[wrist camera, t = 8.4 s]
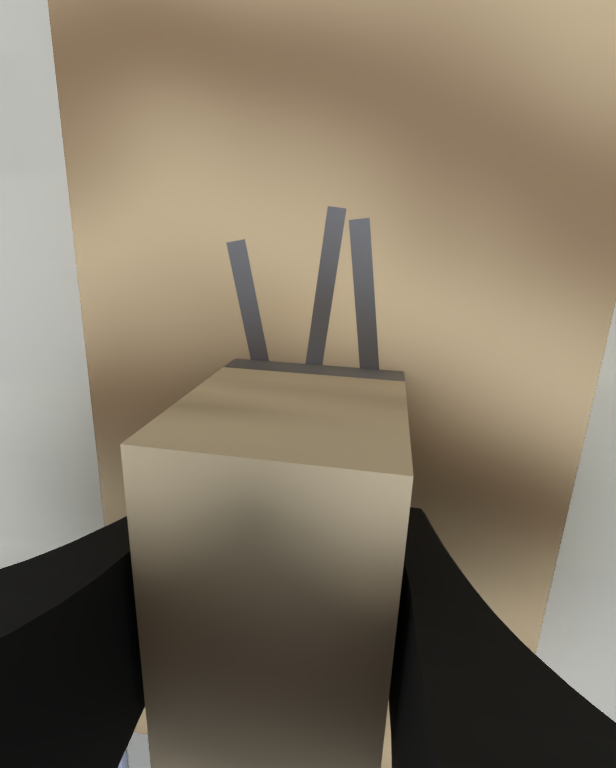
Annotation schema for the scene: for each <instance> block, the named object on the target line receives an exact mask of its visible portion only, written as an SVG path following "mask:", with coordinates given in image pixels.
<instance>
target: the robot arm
mask: <svg viewBox="0 0 616 768" xmlns="http://www.w3.org/2000/svg"><path fill="white" fill-rule="evenodd" d="M144 708H145V699H144V689H143V678H142V668H141V657H140V647H139V636H138V626H137V615H136V605H135V594H134V584H133V573H132V563H131V552H130V542H129V531H128V521H127V516H126V517H124V518H122V519H120V520H118V521H116V522H113V523H111V524H109V525H107V526H105V527H103V528H101V529H99V530H97V531H95V532H93V533H91V534H89V535H87V536H84V537H82V538H80V539H78V540H76V541H73V542H71V543H69V544H66V545H64V546H62V547H59V548H57V549H54V550H52V551H49V552H47V553H44V554H42V555H39V556H36V557H34V558H31V559H29V560H26V561H23V562H20V563H17V564H14V565H11V566H8V567H5V568H2V569H0V768H128V762H127V753H126V748H127V746H128V743H129V741H130V739H131V737H132V734H133V732H134V730H135V728H136V725H137V723H138V721H139V718H140V716H141V714H142V712H143V710H144ZM389 713H390V728H391V755H392V768H616V723H615V722H614V721H613V720H612V719H610V718H609V717H608V716H606V715H605V714H604V713H603V712H601V711H600V710H599V709H597V708H596V707H595V706H594V705H592V704H591V703H590V702H589V701H588V700H586V699H585V698H584V697H583V696H582V695H580V694H579V693H578V692H577V691H576V690H574V689H573V688H572V687H571V686H570V685H568V684H567V683H566V682H565V681H564V680H563V679H562V678H561V677H559V676H558V675H557V674H556V673H555V672H554V671H553V670H552V669H551V668H550V667H548V666H547V665H546V664H545V663H544V662H543V661H542V660H541V659H540V658H538V657H537V656H536V655H535V654H534V653H533V652H532V651H531V650H530V649H529V648H528V647H527V646H526V645H525V644H524V643H523V642H522V641H521V640H520V639H519V638H518V637H517V636H516V635H515V634H514V633H513V632H512V631H511V630H510V629H509V628H508V627H507V626H506V625H505V624H504V622H503V621H502V620H501V619H500V618H499V617H498V616H497V615H496V614H495V613H494V612H493V610H492V609H491V608H490V607H489V606H488V605H487V603H486V602H485V601H484V600H483V598H482V597H481V596H480V595H479V593H478V592H477V591H476V590H475V588H474V587H473V586H472V585H471V583H470V582H469V581H468V579H467V578H466V577H465V575H464V574H463V573H462V571H461V570H460V568H459V567H458V565H457V564H456V563H455V561H454V560H453V558H452V557H451V555H450V554H449V552H448V551H447V549H446V548H445V546H444V545H443V543H442V542H441V540H440V538H439V537H438V535H437V534H436V532H435V530H434V529H433V527H432V525H431V523H430V521H429V520H428V518H427V516H426V514H425V513H424V511H423V510H422V509H421V508H413V507H410V512H409V521H408V530H407V539H406V548H405V557H404V566H403V575H402V584H401V593H400V601H399V610H398V619H397V628H396V637H395V646H394V655H393V664H392V673H391V682H390V691H389Z"/></svg>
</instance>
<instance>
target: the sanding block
mask: <svg viewBox="0 0 616 768" xmlns="http://www.w3.org/2000/svg"><path fill="white" fill-rule="evenodd" d="M120 447H121V458H122V468H123V479H124V489H125V500H126V510H127V521H128V531H129V542H130V552H131V563H132V573H133V584H134V594H135V605H136V615H137V626H138V636H139V647H140V657H141V668H142V678H143V689H144V699H145V710H146V720H147V731H148V741H149V752H150V762H151V768H381V762H382V753H383V744H384V735H385V727H386V718H387V709H388V700H389V691H390V682H391V673H392V664H393V655H394V646H395V637H396V628H397V619H398V610H399V601H400V593H401V584H402V575H403V566H404V557H405V548H406V539H407V530H408V521H409V512H410V503H411V494H412V485H413V465H412V454H411V443H410V432H409V421H408V410H407V398H406V387H405V376H404V372H403V371H390V370H377V369H364V368H351V367H338V366H325V365H311V364H298V363H285V362H272V361H259V360H246V359H233V360H232V361H231V362H229V363H228V364H227V365H225V366H224V367H223V368H221V369H220V370H219V371H217V372H216V373H215V374H213V375H212V376H211V377H209V378H208V379H207V380H205V381H204V382H203V383H201V384H200V385H199V386H197V387H196V388H195V389H193V390H192V391H191V392H189V393H188V394H187V395H185V396H184V397H183V398H181V399H180V400H179V401H177V402H176V403H175V404H173V405H172V406H171V407H169V408H168V409H167V410H165V411H164V412H163V413H161V414H160V415H159V416H157V417H156V418H155V419H153V420H152V421H151V422H149V423H148V424H147V425H145V426H144V427H143V428H141V429H140V430H139V431H137V432H136V433H134V434H133V435H132V436H130V437H129V438H128V439H126V440H125V441H124V442H122V443H121V444H120Z"/></svg>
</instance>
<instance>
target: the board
mask: <svg viewBox="0 0 616 768" xmlns="http://www.w3.org/2000/svg"><path fill="white" fill-rule="evenodd" d="M48 7H49V16H50V26H51V35H52V44H53V53H54V62H55V72H56V81H57V90H58V99H59V109H60V118H61V127H62V136H63V145H64V155H65V164H66V173H67V182H68V191H69V201H70V210H71V219H72V228H73V238H74V247H75V256H76V265H77V274H78V284H79V293H80V302H81V311H82V321H83V330H84V339H85V348H86V357H87V367H88V376H89V385H90V394H91V403H92V413H93V422H94V431H95V440H96V450H97V459H98V468H99V477H100V486H101V496H102V505H103V514H104V523H105V526H107V525H109V524H111V523H113V522H116V521H118V520H120V519H122V518H124V517H126V516H127V510H126V500H125V489H124V479H123V468H122V458H121V447H120V444H121V443H122V442H124V441H125V440H126V439H128V438H129V437H130V436H132V435H133V434H134V433H136V432H137V431H139V430H140V429H141V428H143V427H144V426H145V425H147V424H148V423H149V422H151V421H152V420H153V419H155V418H156V417H157V416H159V415H160V414H161V413H163V412H164V411H165V410H167V409H168V408H169V407H171V406H172V405H173V404H175V403H176V402H177V401H179V400H180V399H181V398H183V397H184V396H185V395H187V394H188V393H189V392H191V391H192V390H193V389H195V388H196V387H197V386H199V385H200V384H201V383H203V382H204V381H205V380H207V379H208V378H209V377H211V376H212V375H213V374H215V373H216V372H217V371H219V370H220V369H221V368H223V367H224V366H225V365H227V364H228V363H229V362H231V361H232V360H233V359H246V360H259V361H272V362H285V363H298V364H311V365H325V366H338V367H351V368H364V369H377V370H390V371H403V372H404V376H405V387H406V398H407V410H408V421H409V432H410V443H411V454H412V465H413V485H412V494H411V503H410V507H413V508H421V509H422V510H423V511H424V513H425V514H426V516H427V518H428V520H429V521H430V523H431V525H432V527H433V529H434V530H435V532H436V534H437V535H438V537H439V538H440V540H441V542H442V543H443V545H444V546H445V548H446V549H447V551H448V552H449V554H450V555H451V557H452V558H453V560H454V561H455V563H456V564H457V565H458V567H459V568H460V570H461V571H462V573H463V574H464V575H465V577H466V578H467V579H468V581H469V582H470V583H471V585H472V586H473V587H474V588H475V590H476V591H477V592H478V593H479V595H480V596H481V597H482V598H483V600H484V601H485V602H486V603H487V605H488V606H489V607H490V608H491V609H492V610H493V612H494V613H495V614H496V615H497V616H498V617H499V618H500V619H501V620H502V621H503V622H504V624H505V625H506V626H507V627H508V628H509V629H510V630H511V631H512V632H513V633H514V634H515V635H516V636H517V637H518V638H519V639H520V640H521V641H522V642H523V643H524V644H525V645H526V646H527V647H528V648H529V649H530V650H531V651H532V652H533V653H534V654H535V653H536V649H537V644H538V640H539V636H540V631H541V627H542V623H543V618H544V614H545V609H546V605H547V601H548V596H549V592H550V587H551V583H552V579H553V574H554V570H555V566H556V561H557V557H558V552H559V548H560V544H561V539H562V535H563V530H564V526H565V522H566V517H567V513H568V509H569V504H570V500H571V495H572V491H573V487H574V482H575V478H576V473H577V469H578V465H579V460H580V456H581V451H582V447H583V443H584V438H585V434H586V430H587V425H588V421H589V416H590V412H591V408H592V403H593V399H594V394H595V390H596V386H597V381H598V377H599V373H600V368H601V364H602V359H603V355H604V351H605V346H606V342H607V337H608V333H609V329H610V324H611V320H612V316H613V311H614V307H615V302H616V0H48ZM134 732H137V733H142V734H147V735H148V731H147V720H146V710H145V708H144V710H143V712H142V714H141V716H140V718H139V721H138V723H137V725H136V728H135V730H134ZM381 768H392V755H391V728H390V713H389V700H388V709H387V718H386V727H385V735H384V744H383V753H382V762H381Z"/></svg>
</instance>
